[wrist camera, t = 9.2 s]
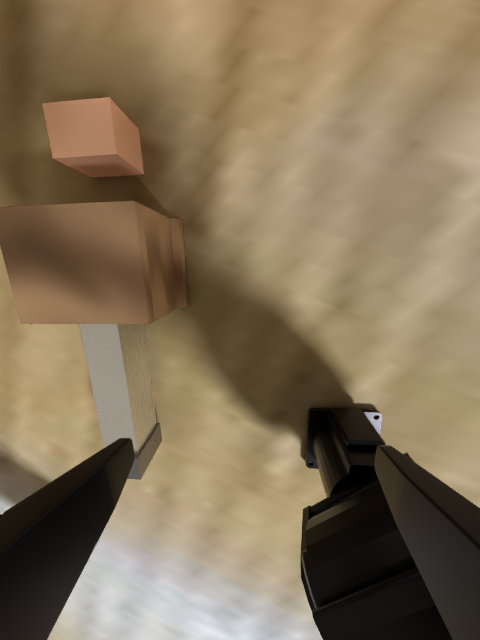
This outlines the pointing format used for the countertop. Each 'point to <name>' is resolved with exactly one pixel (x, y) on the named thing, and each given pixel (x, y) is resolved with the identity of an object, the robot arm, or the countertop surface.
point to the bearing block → (93, 262)
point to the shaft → (123, 388)
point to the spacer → (93, 137)
